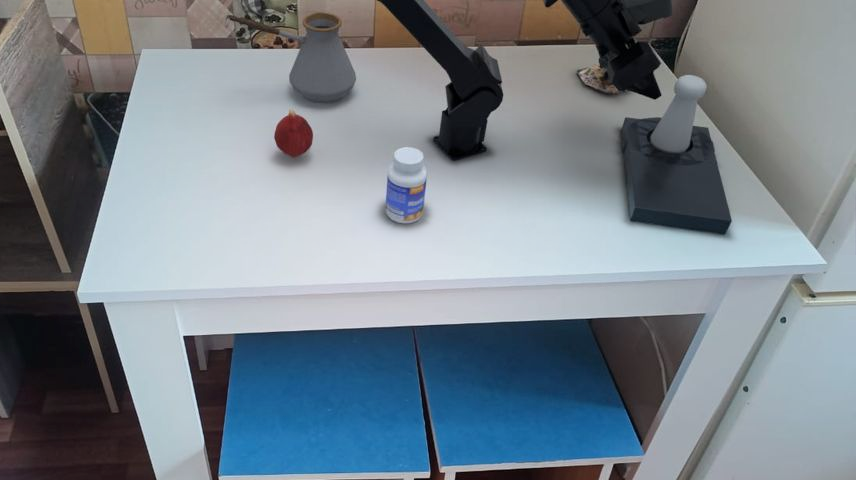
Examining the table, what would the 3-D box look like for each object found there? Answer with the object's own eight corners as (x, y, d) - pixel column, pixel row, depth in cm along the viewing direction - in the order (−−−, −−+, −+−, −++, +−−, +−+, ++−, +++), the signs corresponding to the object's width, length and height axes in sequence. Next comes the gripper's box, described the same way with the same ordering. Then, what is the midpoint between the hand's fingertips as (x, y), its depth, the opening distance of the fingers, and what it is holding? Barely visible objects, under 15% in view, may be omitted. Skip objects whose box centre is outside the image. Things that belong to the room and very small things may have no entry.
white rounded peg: (685, 166, 114) (716, 92, 105) (647, 161, 114) (675, 87, 105) (681, 146, 118) (710, 72, 109) (644, 141, 119) (670, 67, 109)
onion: (319, 151, 114) (319, 106, 109) (302, 171, 111) (301, 125, 105) (287, 142, 116) (284, 97, 110) (269, 161, 112) (265, 115, 107)
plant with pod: (592, 102, 127) (624, -12, 113) (572, 70, 135) (600, -41, 121) (637, 101, 127) (675, -13, 113) (614, 69, 135) (647, -41, 121)
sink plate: (726, 234, 102) (733, 221, 101) (628, 220, 104) (634, 207, 102) (702, 136, 120) (708, 123, 118) (619, 125, 122) (623, 112, 120)
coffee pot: (348, 73, 132) (349, -10, 122) (362, 106, 124) (365, 21, 114) (229, 83, 128) (220, -1, 118) (236, 118, 121) (226, 31, 110)
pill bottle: (411, 229, 101) (417, 172, 95) (377, 215, 103) (381, 158, 97) (429, 209, 105) (436, 152, 98) (396, 195, 107) (401, 139, 100)
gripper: (667, -7, 89) (724, 79, 97) (630, -63, 102) (683, 16, 110) (586, 52, 95) (646, 128, 102) (562, -9, 108) (616, 63, 116)
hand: (649, 80), depth 107 cm, fingers open, 9 cm apart
